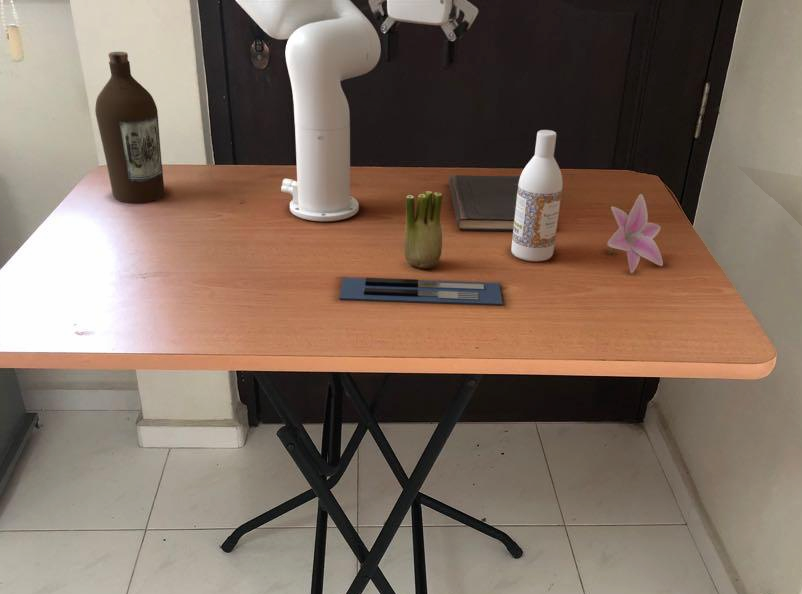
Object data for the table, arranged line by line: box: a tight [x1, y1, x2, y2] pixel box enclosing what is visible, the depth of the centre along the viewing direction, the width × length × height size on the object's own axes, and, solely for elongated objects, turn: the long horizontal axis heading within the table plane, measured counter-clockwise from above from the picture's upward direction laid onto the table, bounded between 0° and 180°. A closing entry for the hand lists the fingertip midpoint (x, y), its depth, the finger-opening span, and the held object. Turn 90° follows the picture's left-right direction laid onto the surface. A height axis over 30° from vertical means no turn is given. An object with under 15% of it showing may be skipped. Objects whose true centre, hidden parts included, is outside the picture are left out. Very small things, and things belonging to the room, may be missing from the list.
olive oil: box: [94, 51, 165, 204], centre depth 149 cm, size 11×11×25 cm
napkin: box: [339, 277, 503, 306], centre depth 125 cm, size 24×7×1 cm, turn 88°
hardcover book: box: [448, 174, 521, 233], centre depth 155 cm, size 16×23×2 cm
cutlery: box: [364, 277, 484, 300], centre depth 125 cm, size 18×5×1 cm, turn 88°
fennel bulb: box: [403, 190, 444, 270], centre depth 130 cm, size 6×5×12 cm
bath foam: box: [510, 129, 564, 262], centre depth 132 cm, size 7×7×20 cm
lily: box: [607, 193, 664, 274], centre depth 135 cm, size 12×12×10 cm
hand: (419, 63), depth 126 cm, fingers open, 9 cm apart
